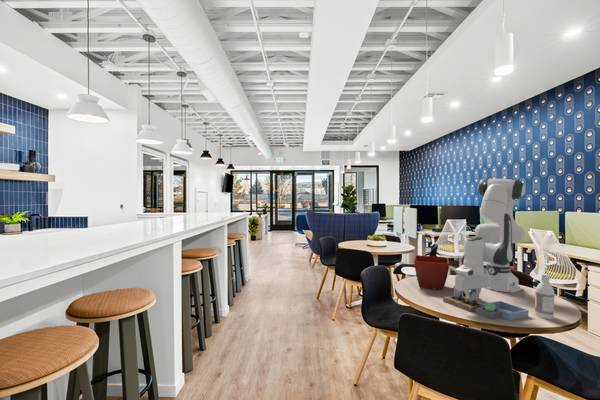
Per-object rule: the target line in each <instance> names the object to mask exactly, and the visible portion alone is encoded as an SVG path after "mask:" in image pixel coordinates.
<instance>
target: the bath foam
mask: <svg viewBox="0 0 600 400" xmlns="http://www.w3.org/2000/svg"><path fill="white" fill-rule="evenodd" d="M550 277H551V276H550V274H548V273H541V280H540V283H538V284H537V286H536V287H535V294H534V296H535V297H534V300H535V301H534V316H535V317H538V318H540V319H545V320H554V318H555V316H554V315H555V296H556V295H555V290H554V287H553V286H552V284H551V283H550Z"/></svg>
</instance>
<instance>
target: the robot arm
mask: <svg viewBox="0 0 600 400" xmlns="http://www.w3.org/2000/svg"><path fill="white" fill-rule="evenodd" d="M477 192H478V194H479V195H480V196H481V197H483V198H482V200H481V205H480V213H481V215H482V217H484V219H486V220H488V221H490V222H491V223H480V224H478V225H476V227H475V229H474V235H470V236H467V237H466V238H465V240H464V244H463V245H464V246H463V256H464V261H463V265H462V264H461V265H460V266H458V267H457V268H455V273H456V275H455V277H454V286H455V287H456V289H457V290H460V291H464V292H465V294H466V298H467V299H470V298H471V295H470V294H469V292H470V290H472V289H476V291H478V298H480V294H481V291H482V289H487V290H491V291H497V292H501V293H502V292H505V293H511V294H513V293H517V292H519V291H523V290H524V287H523V286H520V285H519V284H520V283H519V278H518V277H517V276H516V275H514V273H512V271H514V269H515V266H511V265H510V264H511V262H512V261H513V255H514V253H513V248H512V246H513V245H512V244H518V243H522V242H523V241H524V240H525V239H526V231H525V229H524V228H523V226H521V225H519V224H518V222H516V220H515V218H514V215H513V214H514V201H516V200H520V199H522V197H523V196H524V195H525V192H526V186H525V184H524V182H523V181H522V180H517V179H515V180H514V179H510V178H509V179H508V178H489V177H486V178H482V179H481V180H479V183H478V185H477ZM484 262H485V263H486V267H485V263H484Z"/></svg>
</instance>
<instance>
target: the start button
mask: <svg viewBox="0 0 600 400" xmlns="http://www.w3.org/2000/svg"><path fill="white" fill-rule="evenodd" d="M484 304H485V310H486V311H489V312H495V305H494V304H492V303H491V302H485V303H484Z"/></svg>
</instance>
